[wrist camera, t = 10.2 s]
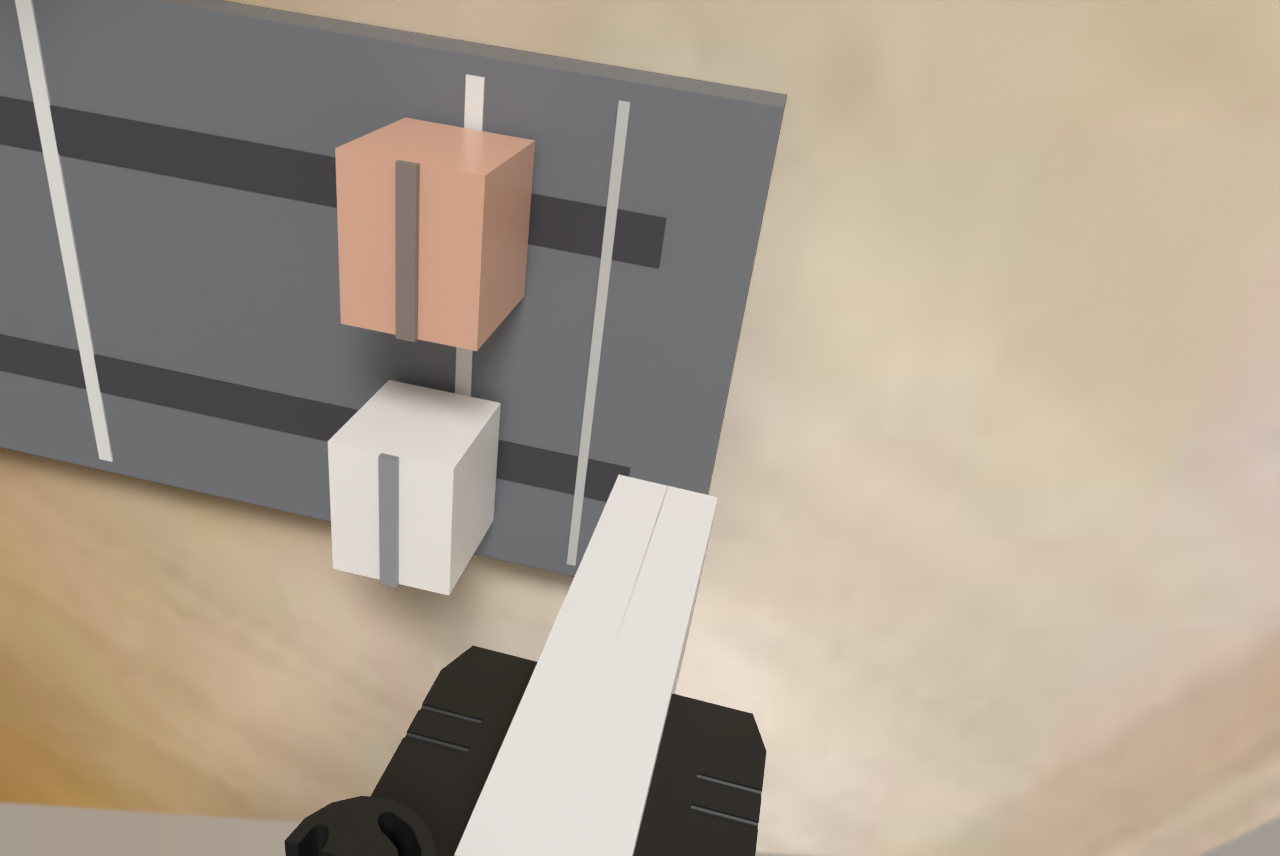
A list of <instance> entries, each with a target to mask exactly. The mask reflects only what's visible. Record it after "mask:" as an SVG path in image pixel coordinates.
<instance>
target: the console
mask: <svg viewBox="0 0 1280 856" xmlns="http://www.w3.org/2000/svg"><path fill="white" fill-rule="evenodd" d="M786 98H787V95H785V94H779V93H773V92H767V91H761V90H755V89H749V88H743V87H737V86H731V85H725V84H719V83H713V82H707V81H701V80H695V79H689V78H683V77H677V76H671V75H665V74H659V73H653V72H647V71H641V70H635V69H629V68H623V67H617V66H611V65H605V64H599V63H593V62H587V61H581V60H575V59H569V58H563V57H557V56H551V55H545V54H539V53H534V52H528V51H522V50H516V49H510V48H504V47H498V46H492V45H486V44H480V43H474V42H468V41H462V40H456V39H450V38H444V37H438V36H432V35H426V34H420V33H414V32H408V31H402V30H396V29H390V28H384V27H378V26H372V25H366V24H360V23H354V22H348V21H342V20H336V19H330V18H324V17H318V16H312V15H306V14H300V13H294V12H288V11H282V10H276V9H270V8H264V7H258V6H252V5H246V4H240V3H234V2H228V1H222V0H0V447H2V448H7V449H11V450H16V451H20V452H25V453H29V454H33V455H38V456H42V457H47V458H51V459H56V460H60V461H64V462H69V463H73V464H78V465H82V466H87V467H91V468H96V469H100V470H104V471H109V472H113V473H118V474H122V475H127V476H131V477H135V478H140V479H144V480H149V481H153V482H158V483H162V484H166V485H171V486H175V487H180V488H184V489H189V490H193V491H197V492H202V493H206V494H211V495H215V496H220V497H224V498H228V499H233V500H237V501H242V502H246V503H251V504H255V505H259V506H264V507H268V508H273V509H277V510H282V511H286V512H290V513H295V514H299V515H304V516H308V517H313V518H317V519H321V520H326V521H330V522H331V509H330V485H329V462H328V441H329V440H330V439H331V438H332V437H333V436H334V435H335V434H336V433H337V432H338V431H339V430H340V429H341V428H342V427H343V426H344V425H345V424H346V423H347V422H348V421H349V420H350V419H351V418H352V417H353V416H354V415H355V414H356V413H357V412H358V411H359V410H360V409H361V408H362V407H363V406H364V405H365V404H366V403H367V402H368V401H369V400H370V399H371V398H372V397H373V396H374V395H375V394H376V393H377V392H378V391H379V390H380V389H381V388H382V387H383V386H384V385H385V384H386V383H387V382H388V381H389V380H393V381H397V382H402V383H407V384H412V385H417V386H421V387H426V388H431V389H436V390H441V391H446V392H450V393H455V394H460V395H465V396H470V397H474V398H479V399H484V400H489V401H494V402H498V403H501V407H500V423H499V439H498V455H497V471H496V488H495V504H494V520H493V522H492V524H491V525H490V527H489V529H488V530H487V532H486V534H485V535H484V537H483V539H482V541H481V542H480V544H479V546H478V547H477V549H476V551H475V552H474V554H477V555H481V556H485V557H490V558H494V559H499V560H503V561H508V562H512V563H516V564H521V565H525V566H530V567H534V568H539V569H543V570H547V571H552V572H556V573H561V574H565V575H570V576H574V577H575V575H576V572H577V570H578V568H579V565H580V563H581V561H582V558H583V556H584V554H585V551H586V549H587V547H588V544H589V542H590V540H591V538H592V535H593V533H594V531H595V528H596V526H597V524H598V521H599V519H600V517H601V514H602V512H603V510H604V507H605V505H606V503H607V501H608V498H609V496H610V494H611V491H612V489H613V487H614V484H615V482H616V480H617V477H618V475H623V476H627V477H632V478H636V479H640V480H645V481H649V482H654V483H658V484H662V485H667V486H671V487H675V488H680V489H684V490H689V491H693V492H697V493H702V494H706V495H708V494H709V488H710V483H711V478H712V473H713V468H714V463H715V458H716V453H717V448H718V443H719V438H720V433H721V428H722V423H723V418H724V412H725V407H726V402H727V397H728V392H729V387H730V382H731V377H732V372H733V367H734V362H735V357H736V352H737V347H738V341H739V336H740V331H741V326H742V321H743V316H744V311H745V306H746V301H747V296H748V291H749V286H750V281H751V276H752V270H753V265H754V260H755V255H756V250H757V245H758V240H759V235H760V230H761V225H762V220H763V215H764V210H765V205H766V199H767V194H768V189H769V184H770V179H771V174H772V169H773V164H774V159H775V154H776V149H777V144H778V139H779V134H780V128H781V123H782V118H783V113H784V108H785V103H786ZM405 117H406V118H411V119H417V120H423V121H428V122H434V123H440V124H445V125H451V126H457V127H462V128H468V129H473V130H479V131H485V132H490V133H496V134H502V135H507V136H513V137H519V138H524V139H530V140H535V152H534V166H533V180H532V194H531V208H530V222H529V236H528V250H527V264H526V278H525V292H524V297H523V298H522V299H521V301H520V302H519V303H518V304H517V305H516V306H515V307H514V309H513V310H512V311H511V312H510V313H509V314H508V316H507V317H506V318H505V319H504V320H503V321H502V323H501V324H500V325H499V326H498V327H497V328H496V330H495V331H494V332H493V333H492V334H491V335H490V337H489V338H488V339H487V340H486V341H485V342H484V344H483V345H482V346H481V347H480V348H479V349H478V350H477V351H473V350H468V349H463V348H459V347H454V346H449V345H444V344H439V343H434V342H429V341H424V340H419V339H418V340H416V341H415V342H411V341H406V340H401V339H396V335H394V334H389V333H384V332H380V331H375V330H370V329H365V328H360V327H355V326H350V325H345V324H341V313H340V282H339V251H338V220H337V189H336V158H335V148H337V147H339V146H341V145H344V144H346V143H348V142H351V141H353V140H355V139H357V138H360V137H362V136H364V135H367V134H369V133H371V132H373V131H376V130H378V129H380V128H383V127H385V126H387V125H389V124H392V123H394V122H396V121H399V120H401V119H403V118H405Z"/></svg>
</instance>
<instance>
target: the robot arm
mask: <svg viewBox="0 0 1280 856" xmlns="http://www.w3.org/2000/svg"><path fill="white" fill-rule="evenodd" d="M717 500H718V497H715V496H711V495H706V494H702V493H697V492H693V491H689V490H684V489H680V488H675V487H671V486H667V485H662V484H658V483H654V482H649V481H645V480H640V479H636V478H632V477H627V476H623V475H618V477H617V480H616V482H615V484H614V487H613V489H612V491H611V494H610V496H609V498H608V501H607V503H606V505H605V507H604V510H603V512H602V514H601V517H600V519H599V521H598V524H597V526H596V528H595V531H594V533H593V535H592V538H591V540H590V542H589V544H588V547H587V549H586V551H585V554H584V556H583V558H582V561H581V563H580V565H579V568H578V570H577V572H576V575H575V577H574V579H573V582H572V584H571V586H570V588H569V591H568V593H567V595H566V598H565V600H564V602H563V605H562V607H561V609H560V612H559V614H558V616H557V619H556V621H555V623H554V625H553V628H552V630H551V632H550V635H549V637H548V639H547V642H546V644H545V646H544V649H543V651H542V653H541V656H540V658H539V660H538V662H535V661H531V660H527V659H523V658H519V657H516V656H512V655H508V654H504V653H500V652H496V651H492V650H488V649H484V648H480V647H476V646H472V647H471V648H469V649H468V650H467V651H465V652H464V653H463V654H461V655H460V656H459V657H458V658H456V659H455V660H454V661H452V662H451V663H450V664H448V665H447V666H446V667H445V668H443V669H442V670H441V671H440V673H439V675H438V677H437V678H436V680H435V682H434V684H433V686H432V687H431V689H430V691H429V693H428V694H427V696H426V698H425V700H424V702H423V704H422V708H421V710H419V711H418V712H417V714H416V716H415V718H414V720H413V721H412V723H411V725H410V727H409V729H408V730H407V735H406V737H405V738H403V739H402V741H401V743H400V745H399V746H398V748H397V750H396V752H395V754H394V755H393V757H392V759H391V761H390V763H389V764H388V766H387V768H386V770H385V772H384V773H383V775H382V777H381V779H380V780H379V782H378V784H377V786H376V788H375V789H374V791H373V793H372V795H371V797H366V796H360V797H355V798H351V799H346V800H342V801H337V802H333V803H331V804H329V805H327V806H325V807H324V808H322V809H320V810H318V811H317V812H315V813H313V814H311V815H310V816H308V817H306V818H305V819H304V820H303V821H302V822H301V823H300V824H299V825H298V827H297V828H296V829H295V830H294V831H293V832H292V833H291V834H290V836H289V837H288V838H287V839H286V840H285V851H286V856H755V852H756V843H757V833H758V829H757V828H758V822H759V815H760V805H761V792H762V787H763V777H764V768H765V758H766V749H765V746H764V744H763V741H762V738H761V735H760V733H759V730H758V727H757V724H756V722H755V719H754V716H753V714H751V713H747V712H743V711H739V710H735V709H731V708H727V707H723V706H720V705H716V704H712V703H708V702H704V701H700V700H696V699H692V698H688V697H684V696H680V695H676V694H675V690H676V685H677V681H678V677H679V673H680V668H681V664H682V660H683V655H684V651H685V647H686V643H687V638H688V634H689V629H690V625H691V620H692V615H693V611H694V606H695V602H696V597H697V592H698V588H699V583H700V578H701V574H702V569H703V564H704V560H705V555H706V551H707V546H708V541H709V537H710V532H711V527H712V523H713V518H714V514H715V509H716V504H717Z"/></svg>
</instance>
